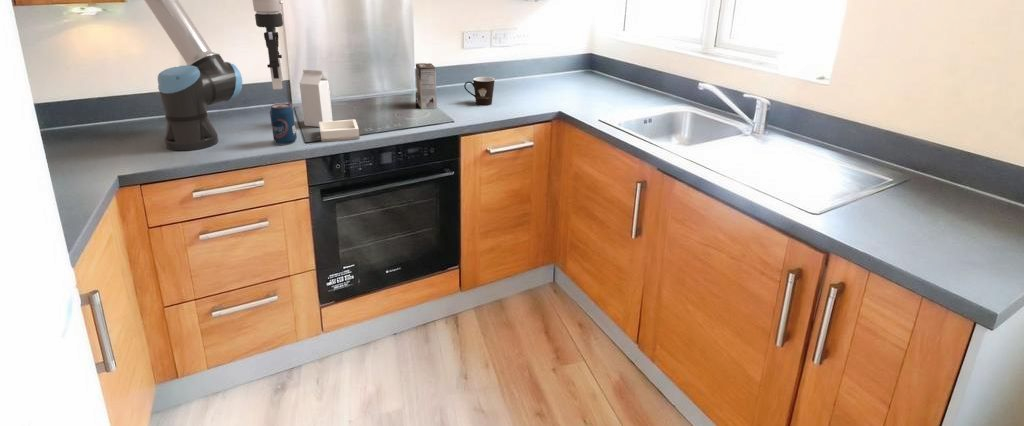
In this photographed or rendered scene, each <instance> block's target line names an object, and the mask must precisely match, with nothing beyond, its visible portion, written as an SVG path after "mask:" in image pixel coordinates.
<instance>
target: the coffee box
mask: <svg viewBox="0 0 1024 426" xmlns="http://www.w3.org/2000/svg"><path fill="white" fill-rule="evenodd" d="M436 70H437V69H436V66H434V65H433V63H431V62H429V63H423V62H422V63H421V62H419V63H415V74H416V75H415V76H416V87H417V88H416V90H417V92H416V93H417V104H418V107H420V109H421V110H429V109H437V105H438V104H437V75H436V74H437V71H436Z"/></svg>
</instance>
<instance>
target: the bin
mask: <svg viewBox="0 0 1024 426" xmlns="http://www.w3.org/2000/svg"><path fill="white" fill-rule="evenodd" d="M319 126H320V127H319V133H320V138H321V142H322V143H328V142H341V141H351V140H354V141H355V140H360V130H359V126H358V123H357V120H356V119H344V120H343V119H342V120H333V121H324V122H319Z"/></svg>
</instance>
